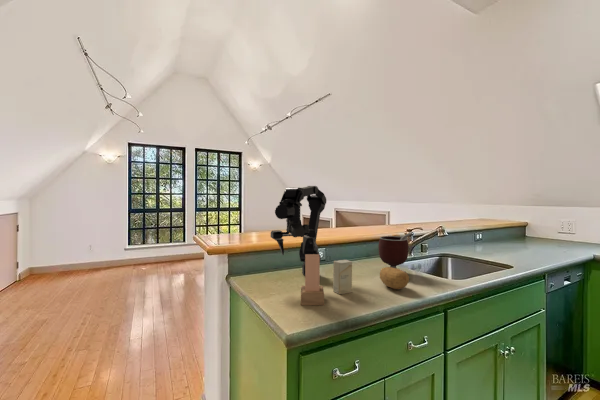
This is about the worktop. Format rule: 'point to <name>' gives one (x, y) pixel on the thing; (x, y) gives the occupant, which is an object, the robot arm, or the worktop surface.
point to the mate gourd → (393, 250)
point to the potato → (394, 277)
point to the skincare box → (342, 276)
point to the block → (312, 272)
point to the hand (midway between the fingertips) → (293, 254)
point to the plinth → (312, 297)
